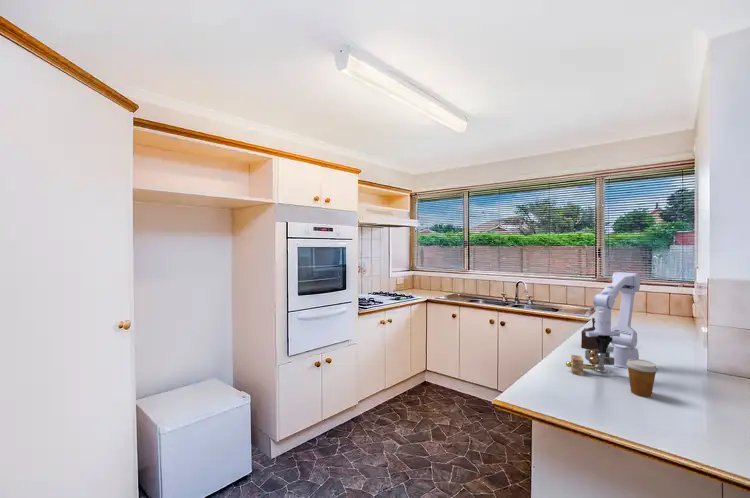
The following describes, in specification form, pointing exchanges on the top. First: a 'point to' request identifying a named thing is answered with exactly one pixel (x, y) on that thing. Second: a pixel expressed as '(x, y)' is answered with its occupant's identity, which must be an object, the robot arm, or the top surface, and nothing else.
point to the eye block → (577, 364)
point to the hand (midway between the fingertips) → (602, 352)
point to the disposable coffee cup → (641, 376)
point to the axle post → (601, 368)
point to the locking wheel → (600, 357)
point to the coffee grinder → (589, 339)
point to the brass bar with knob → (592, 360)
